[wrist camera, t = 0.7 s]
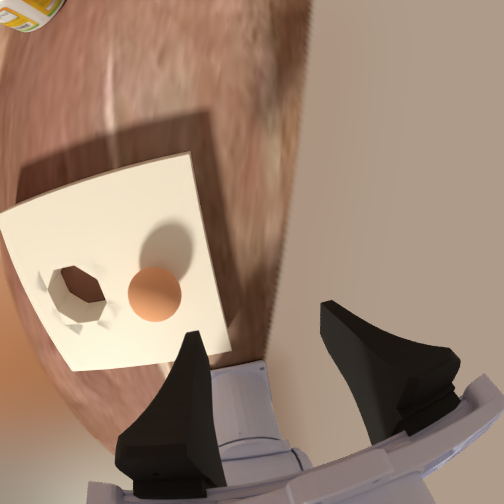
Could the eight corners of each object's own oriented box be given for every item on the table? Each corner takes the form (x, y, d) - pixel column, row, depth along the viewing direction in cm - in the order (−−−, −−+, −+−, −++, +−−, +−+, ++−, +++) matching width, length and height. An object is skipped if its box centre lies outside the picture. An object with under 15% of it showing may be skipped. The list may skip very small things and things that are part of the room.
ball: (187, 297, 20) (187, 328, 17) (142, 305, 20) (134, 336, 17) (175, 252, 19) (171, 279, 15) (126, 263, 18) (114, 290, 15)
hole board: (227, 328, 26) (231, 350, 23) (79, 351, 24) (72, 371, 21) (190, 150, 19) (188, 154, 16) (14, 204, 17) (-4, 215, 14)
